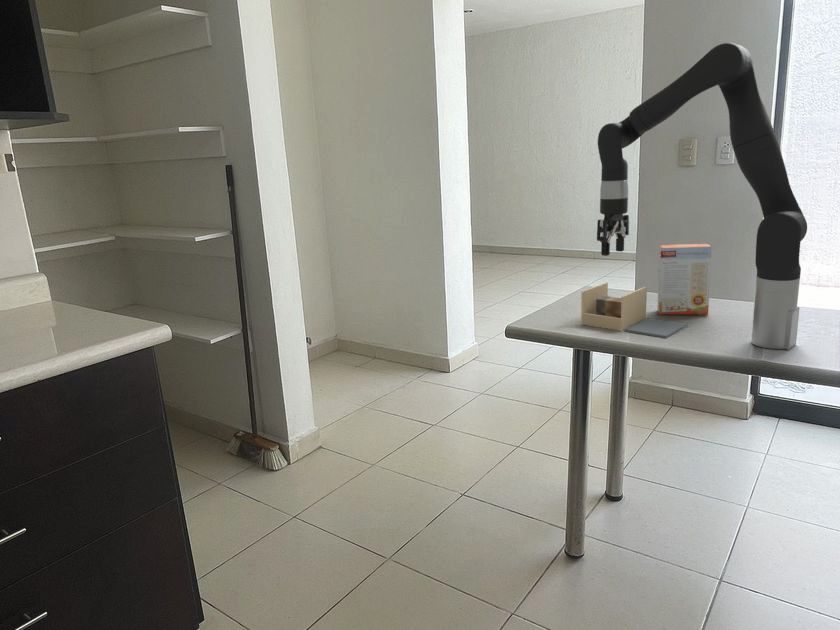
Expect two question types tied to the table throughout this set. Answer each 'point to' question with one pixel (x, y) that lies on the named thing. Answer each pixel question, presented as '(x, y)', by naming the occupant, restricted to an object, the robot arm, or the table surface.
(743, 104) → the robot arm
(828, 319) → the table surface
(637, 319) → the open wooden box
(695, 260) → the cracker box
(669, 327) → the rubber mat
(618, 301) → the box
